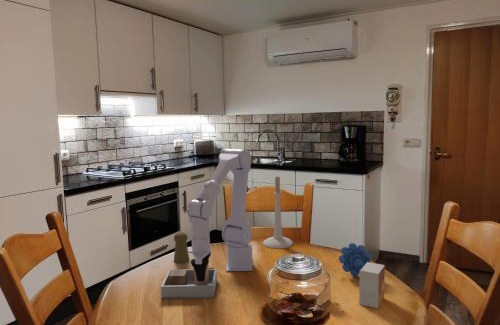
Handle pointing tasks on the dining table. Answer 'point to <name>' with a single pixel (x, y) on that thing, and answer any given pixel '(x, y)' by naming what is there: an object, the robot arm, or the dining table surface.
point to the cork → (181, 248)
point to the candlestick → (277, 224)
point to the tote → (189, 287)
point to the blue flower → (354, 258)
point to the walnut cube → (178, 277)
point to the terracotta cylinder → (204, 280)
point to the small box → (371, 284)
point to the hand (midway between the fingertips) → (201, 277)
